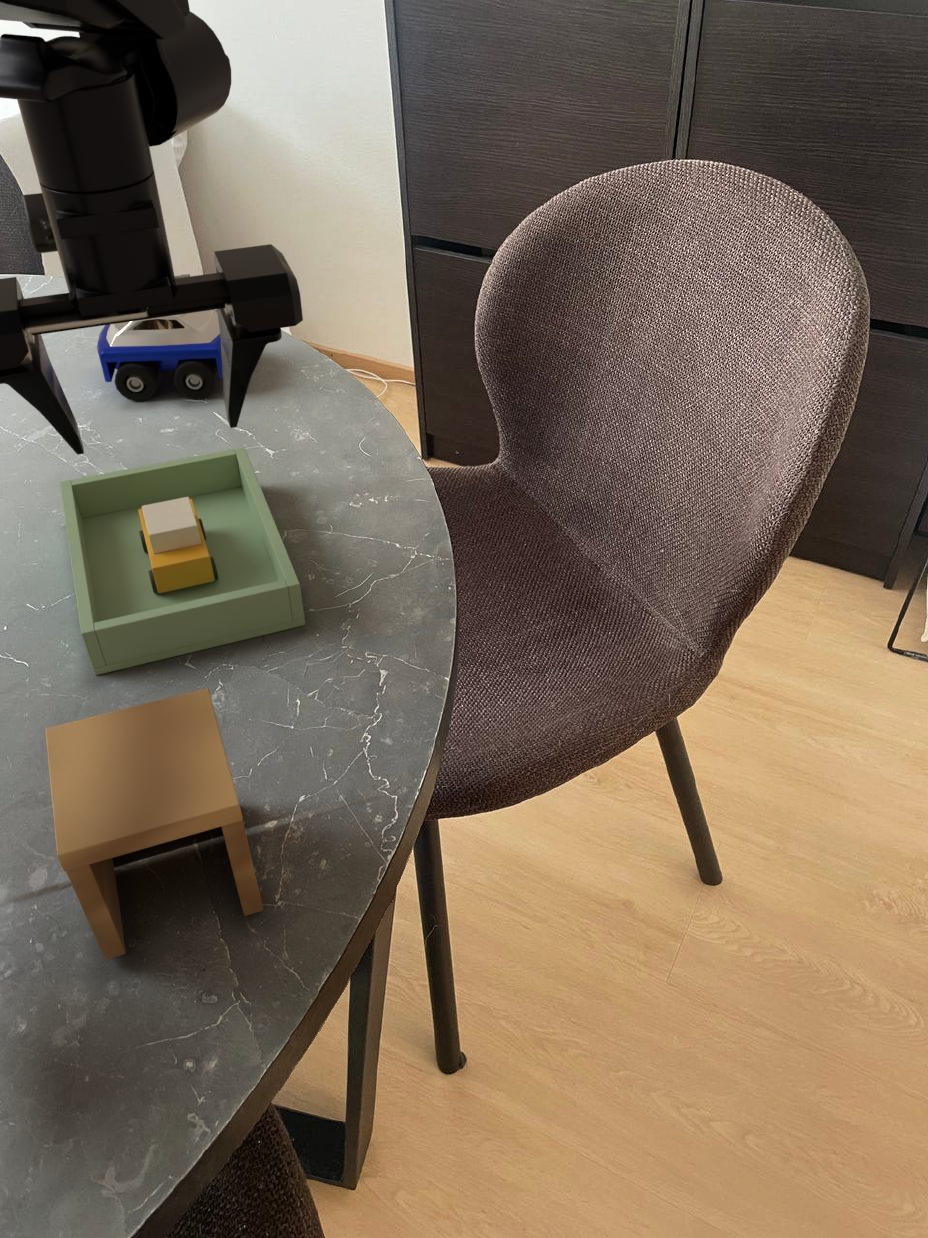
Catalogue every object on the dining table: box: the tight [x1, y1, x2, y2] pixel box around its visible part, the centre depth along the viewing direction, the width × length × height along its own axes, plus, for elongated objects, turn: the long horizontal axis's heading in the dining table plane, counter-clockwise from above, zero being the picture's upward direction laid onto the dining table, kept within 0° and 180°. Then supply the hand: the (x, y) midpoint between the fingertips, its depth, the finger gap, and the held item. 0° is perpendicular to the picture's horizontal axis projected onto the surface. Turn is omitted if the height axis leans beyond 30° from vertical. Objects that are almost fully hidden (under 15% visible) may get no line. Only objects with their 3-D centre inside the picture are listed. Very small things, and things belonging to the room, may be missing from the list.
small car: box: [138, 497, 218, 593], centre depth 70 cm, size 7×4×4 cm, turn 21°
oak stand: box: [44, 687, 264, 960], centre depth 49 cm, size 8×8×9 cm
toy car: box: [96, 273, 222, 402], centre depth 90 cm, size 9×12×10 cm
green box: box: [59, 446, 306, 676], centre depth 70 cm, size 14×18×4 cm
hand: (157, 437), depth 62 cm, fingers open, 9 cm apart
